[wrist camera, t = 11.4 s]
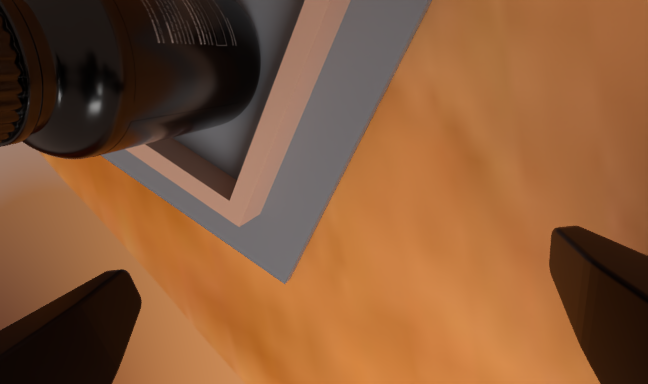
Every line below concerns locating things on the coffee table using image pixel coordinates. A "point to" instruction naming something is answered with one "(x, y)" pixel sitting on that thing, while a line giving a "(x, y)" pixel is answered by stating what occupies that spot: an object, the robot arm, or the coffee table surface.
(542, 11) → the coffee table surface
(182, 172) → the dock tray
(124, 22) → the supplement bottle
